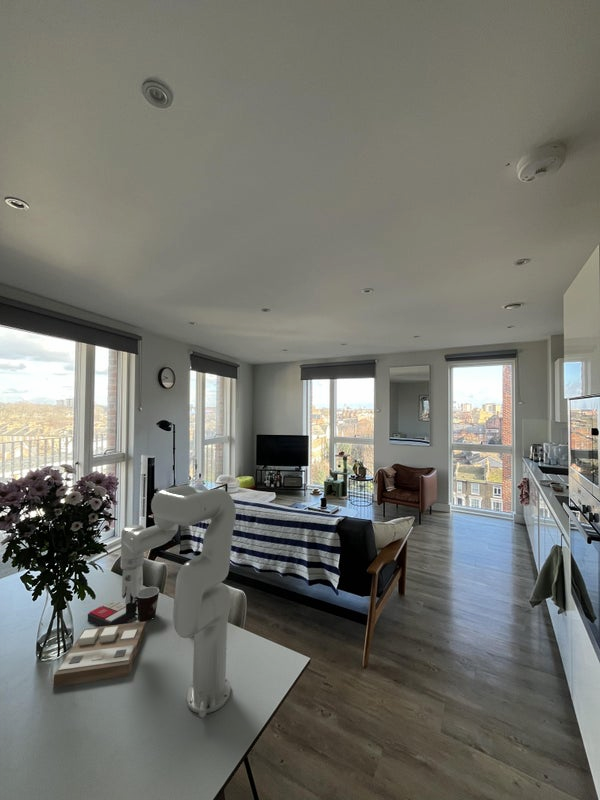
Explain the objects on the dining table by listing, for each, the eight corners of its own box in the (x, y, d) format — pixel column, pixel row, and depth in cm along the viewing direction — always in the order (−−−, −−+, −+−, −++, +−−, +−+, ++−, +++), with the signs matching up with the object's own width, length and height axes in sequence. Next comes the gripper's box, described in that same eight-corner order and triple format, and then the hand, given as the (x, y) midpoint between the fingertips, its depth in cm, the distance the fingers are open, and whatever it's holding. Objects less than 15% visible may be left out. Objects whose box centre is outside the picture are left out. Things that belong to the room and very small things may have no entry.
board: (128, 675, 102) (128, 662, 103) (53, 686, 98) (54, 673, 98) (145, 630, 124) (145, 620, 124) (84, 638, 119) (84, 627, 119)
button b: (113, 644, 113) (114, 634, 113) (99, 646, 112) (100, 635, 112) (117, 636, 117) (118, 626, 118) (104, 637, 116) (104, 627, 117)
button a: (133, 647, 115) (133, 637, 115) (120, 649, 114) (120, 639, 114) (136, 639, 119) (137, 629, 119) (123, 640, 118) (124, 630, 118)
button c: (93, 647, 112) (93, 636, 112) (78, 649, 111) (79, 638, 111) (98, 638, 116) (98, 628, 116) (84, 640, 115) (84, 630, 115)
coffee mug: (151, 608, 138) (152, 584, 139) (162, 615, 133) (163, 591, 134) (123, 622, 129) (124, 596, 129) (134, 630, 124) (135, 604, 124)
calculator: (113, 598, 140) (136, 606, 133) (113, 608, 139) (136, 617, 133) (87, 612, 130) (110, 620, 123) (87, 623, 129) (110, 632, 123)
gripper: (138, 568, 111) (136, 623, 110) (148, 552, 126) (147, 600, 125) (114, 571, 110) (112, 627, 108) (127, 554, 124) (126, 603, 123)
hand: (131, 612), depth 116 cm, fingers closed
